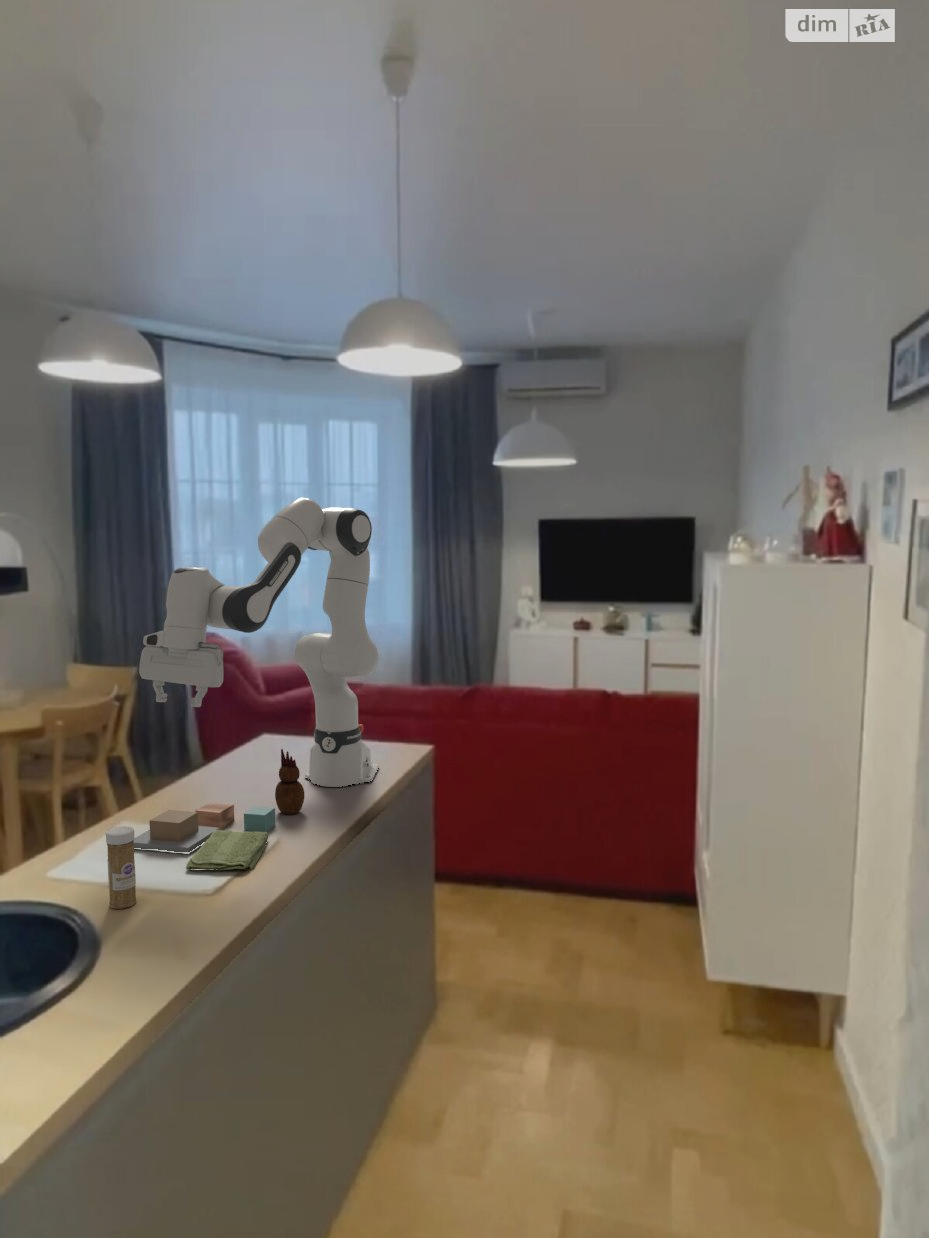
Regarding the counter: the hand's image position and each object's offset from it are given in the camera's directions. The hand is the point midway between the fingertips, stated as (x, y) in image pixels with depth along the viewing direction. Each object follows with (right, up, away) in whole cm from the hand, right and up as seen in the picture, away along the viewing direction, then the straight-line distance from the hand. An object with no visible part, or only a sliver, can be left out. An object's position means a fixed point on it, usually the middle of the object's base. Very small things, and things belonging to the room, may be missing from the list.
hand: (178, 704), depth 179 cm
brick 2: (+16, -28, +5) cm, 33 cm away
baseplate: (+1, -29, -4) cm, 29 cm away
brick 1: (+6, -28, +7) cm, 29 cm away
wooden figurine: (+21, -27, +15) cm, 37 cm away
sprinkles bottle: (+2, -32, -34) cm, 46 cm away
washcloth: (+15, -30, -11) cm, 35 cm away
